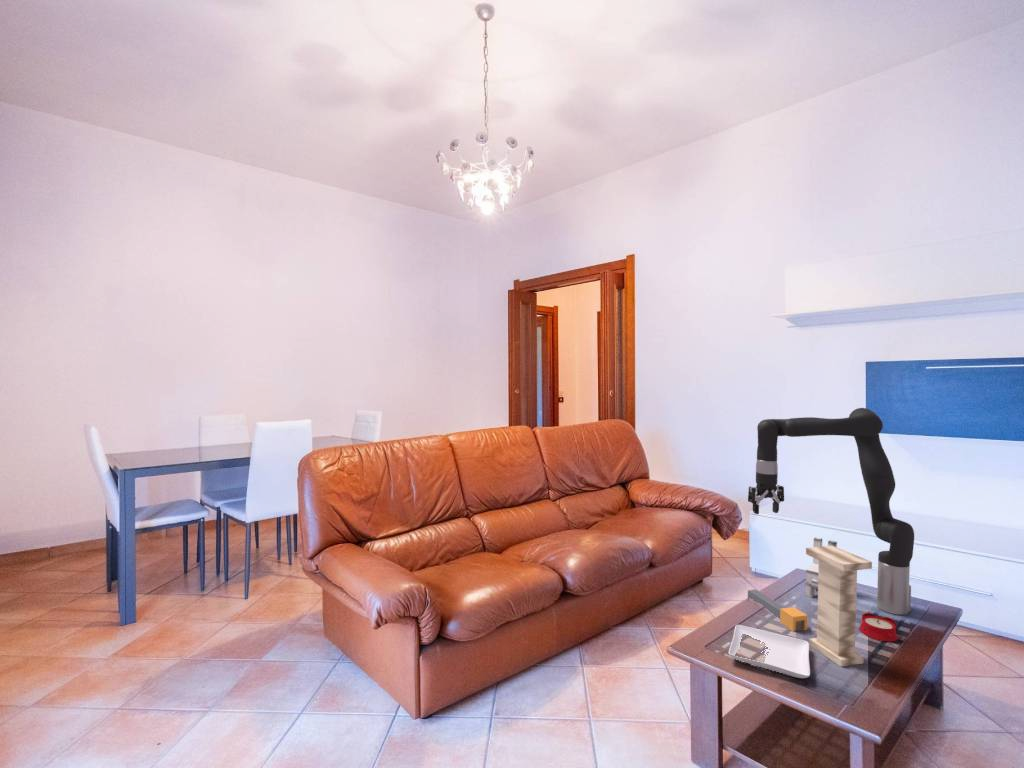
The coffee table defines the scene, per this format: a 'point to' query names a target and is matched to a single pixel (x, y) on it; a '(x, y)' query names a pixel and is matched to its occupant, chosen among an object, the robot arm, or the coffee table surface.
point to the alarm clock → (878, 627)
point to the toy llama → (815, 570)
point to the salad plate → (776, 651)
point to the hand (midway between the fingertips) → (765, 513)
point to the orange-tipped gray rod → (781, 611)
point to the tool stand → (837, 603)
